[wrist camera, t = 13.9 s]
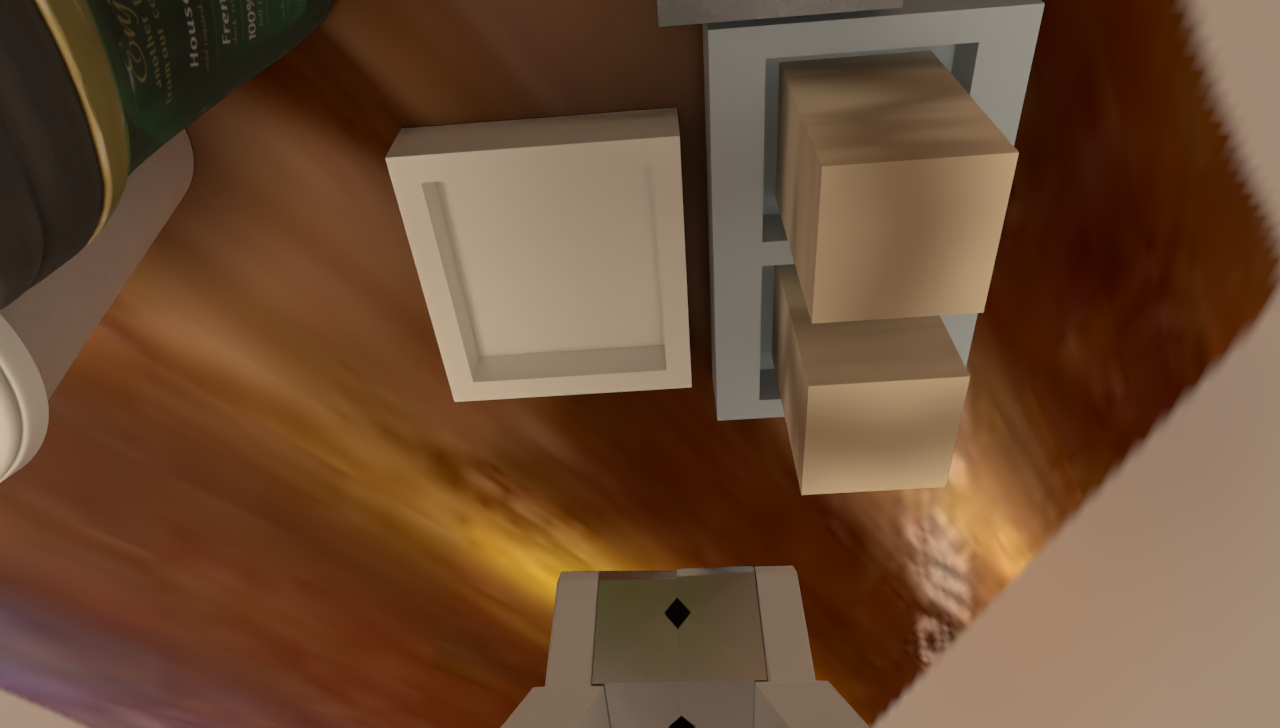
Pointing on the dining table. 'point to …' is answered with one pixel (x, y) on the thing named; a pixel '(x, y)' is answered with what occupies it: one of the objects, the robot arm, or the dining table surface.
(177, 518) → the dining table surface
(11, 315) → the coffee cup
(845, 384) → the seated block
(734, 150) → the grey hollow frame
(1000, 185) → the block
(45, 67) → the coffee jar
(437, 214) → the tray
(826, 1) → the dark grey square housing
